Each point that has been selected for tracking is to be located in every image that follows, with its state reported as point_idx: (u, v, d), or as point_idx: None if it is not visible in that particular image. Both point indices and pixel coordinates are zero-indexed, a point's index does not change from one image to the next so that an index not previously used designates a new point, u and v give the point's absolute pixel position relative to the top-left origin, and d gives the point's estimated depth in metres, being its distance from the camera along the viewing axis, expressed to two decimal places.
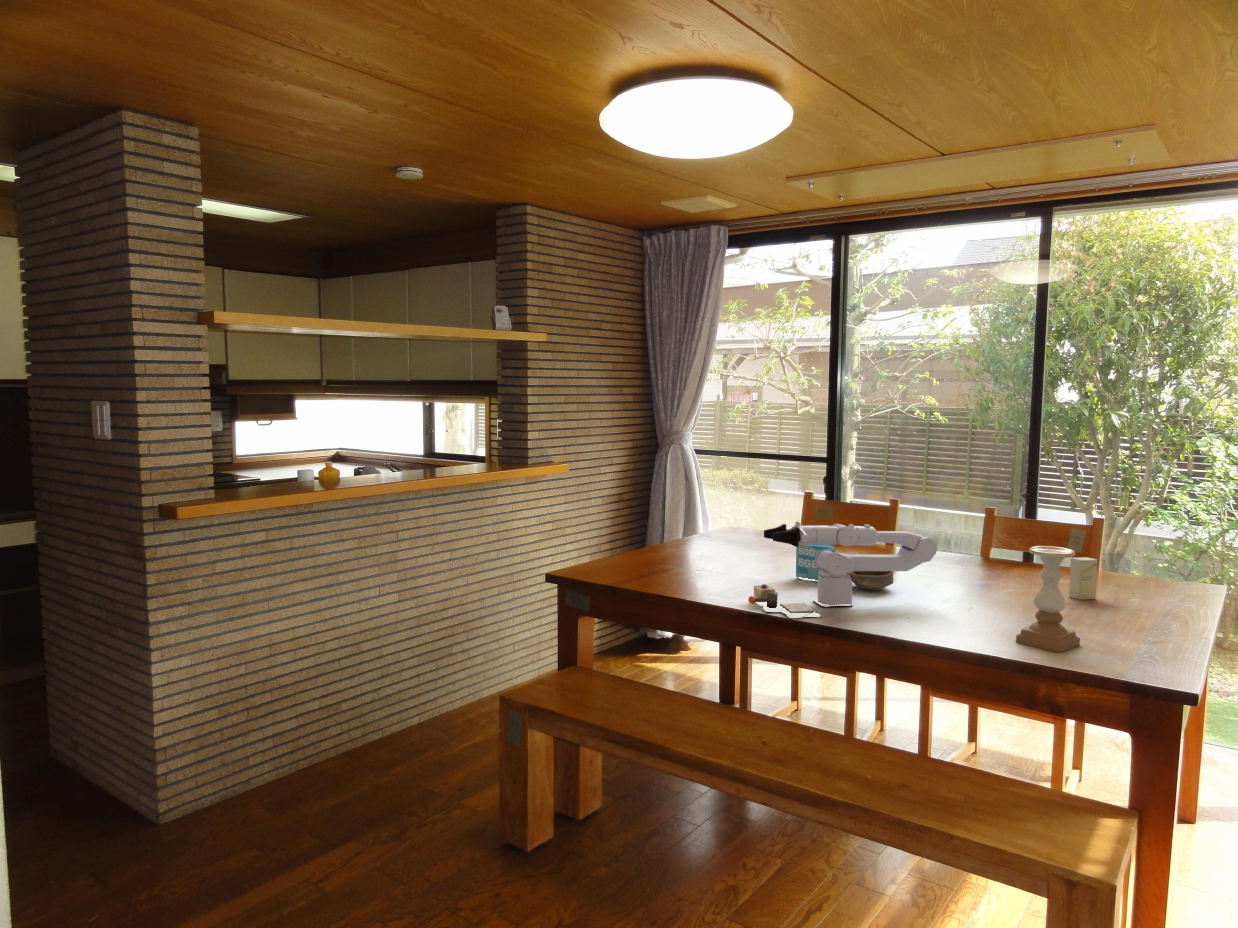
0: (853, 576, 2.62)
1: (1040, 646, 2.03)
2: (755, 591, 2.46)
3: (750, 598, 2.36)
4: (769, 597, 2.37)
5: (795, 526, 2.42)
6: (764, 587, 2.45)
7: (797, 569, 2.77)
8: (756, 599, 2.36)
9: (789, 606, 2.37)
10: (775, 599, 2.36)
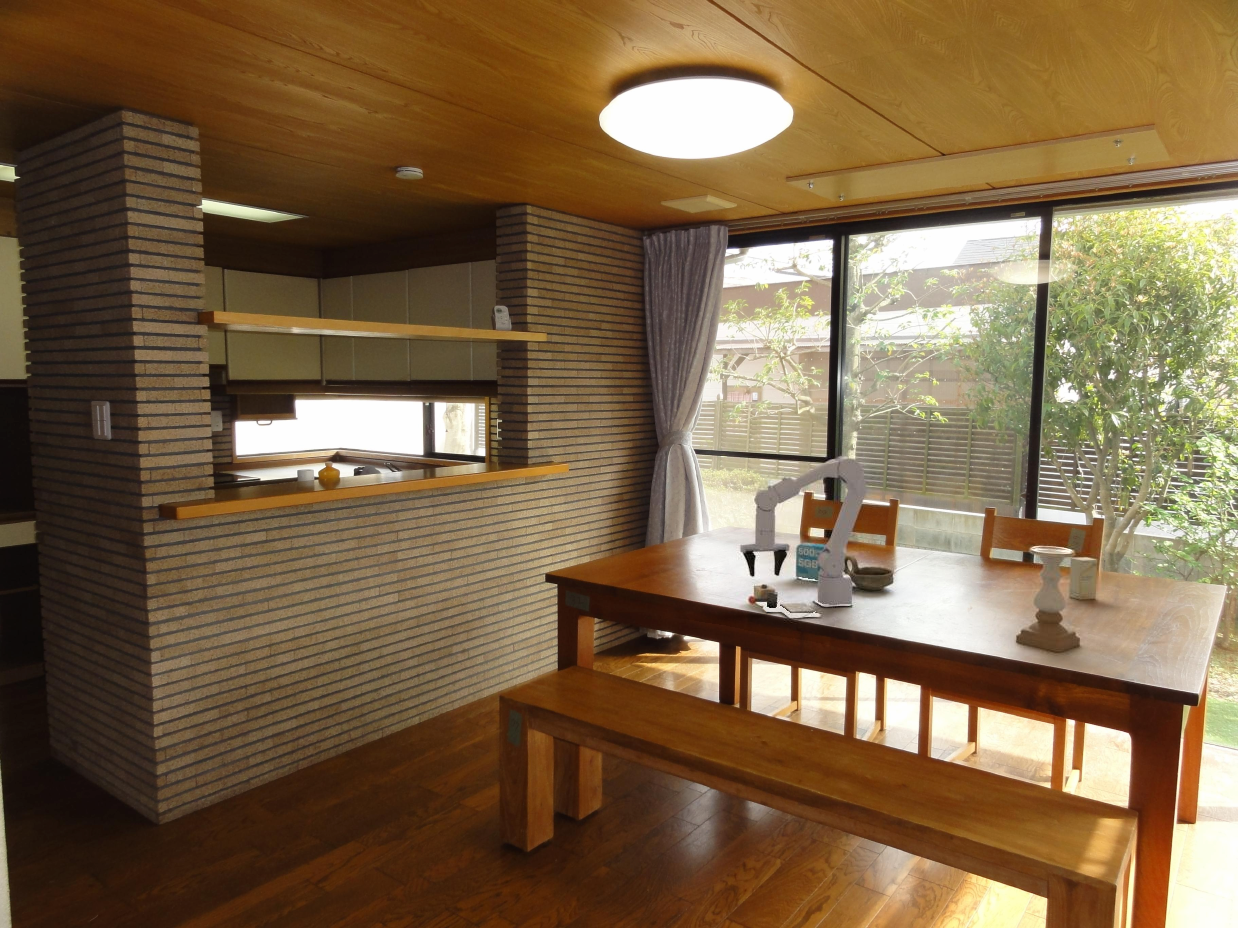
0: (853, 576, 2.62)
1: (1040, 646, 2.03)
2: (755, 591, 2.46)
3: (750, 598, 2.36)
4: (769, 597, 2.37)
5: None
6: (764, 587, 2.45)
7: (797, 569, 2.77)
8: (756, 599, 2.36)
9: (789, 606, 2.37)
10: (775, 599, 2.36)
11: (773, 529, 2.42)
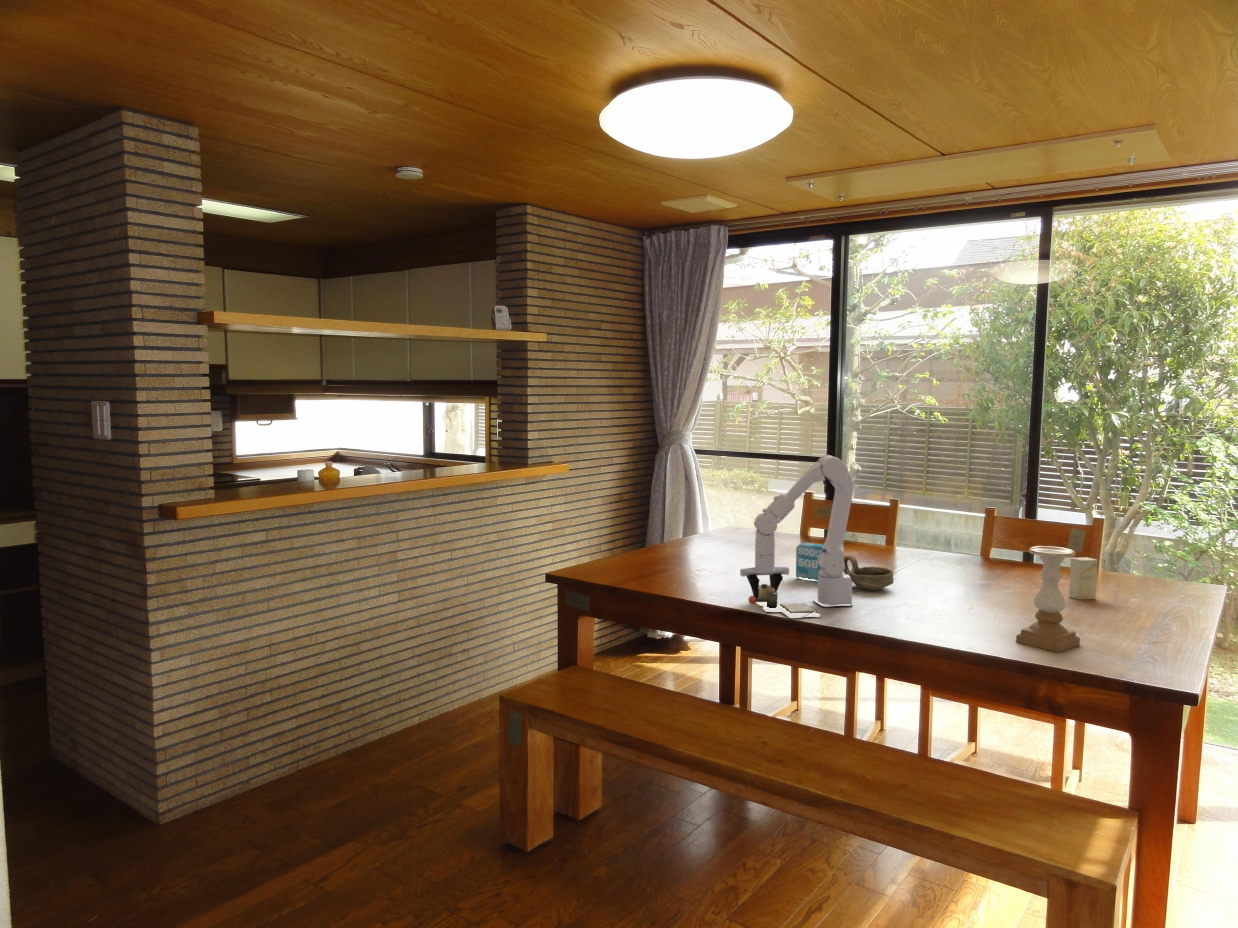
0: (853, 576, 2.62)
1: (1040, 646, 2.03)
2: None
3: (750, 598, 2.36)
4: (769, 597, 2.37)
5: None
6: (764, 587, 2.45)
7: (797, 569, 2.77)
8: (756, 599, 2.36)
9: (789, 606, 2.37)
10: (775, 599, 2.36)
11: (773, 553, 2.43)
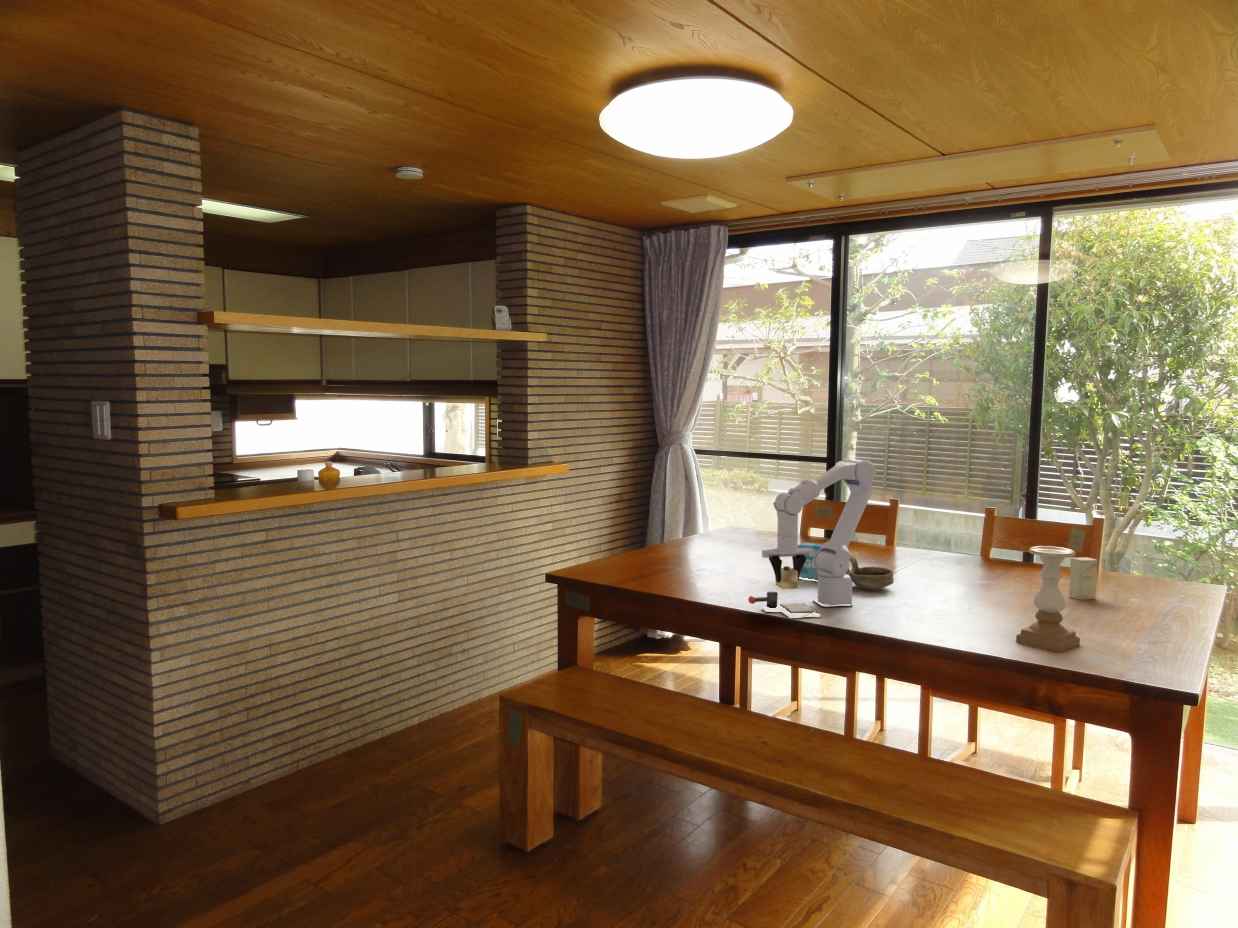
0: (853, 576, 2.62)
1: (1040, 646, 2.03)
2: None
3: (750, 598, 2.36)
4: (769, 597, 2.37)
5: None
6: (786, 569, 2.38)
7: None
8: (756, 599, 2.36)
9: (789, 606, 2.37)
10: (775, 599, 2.36)
11: (797, 533, 2.37)
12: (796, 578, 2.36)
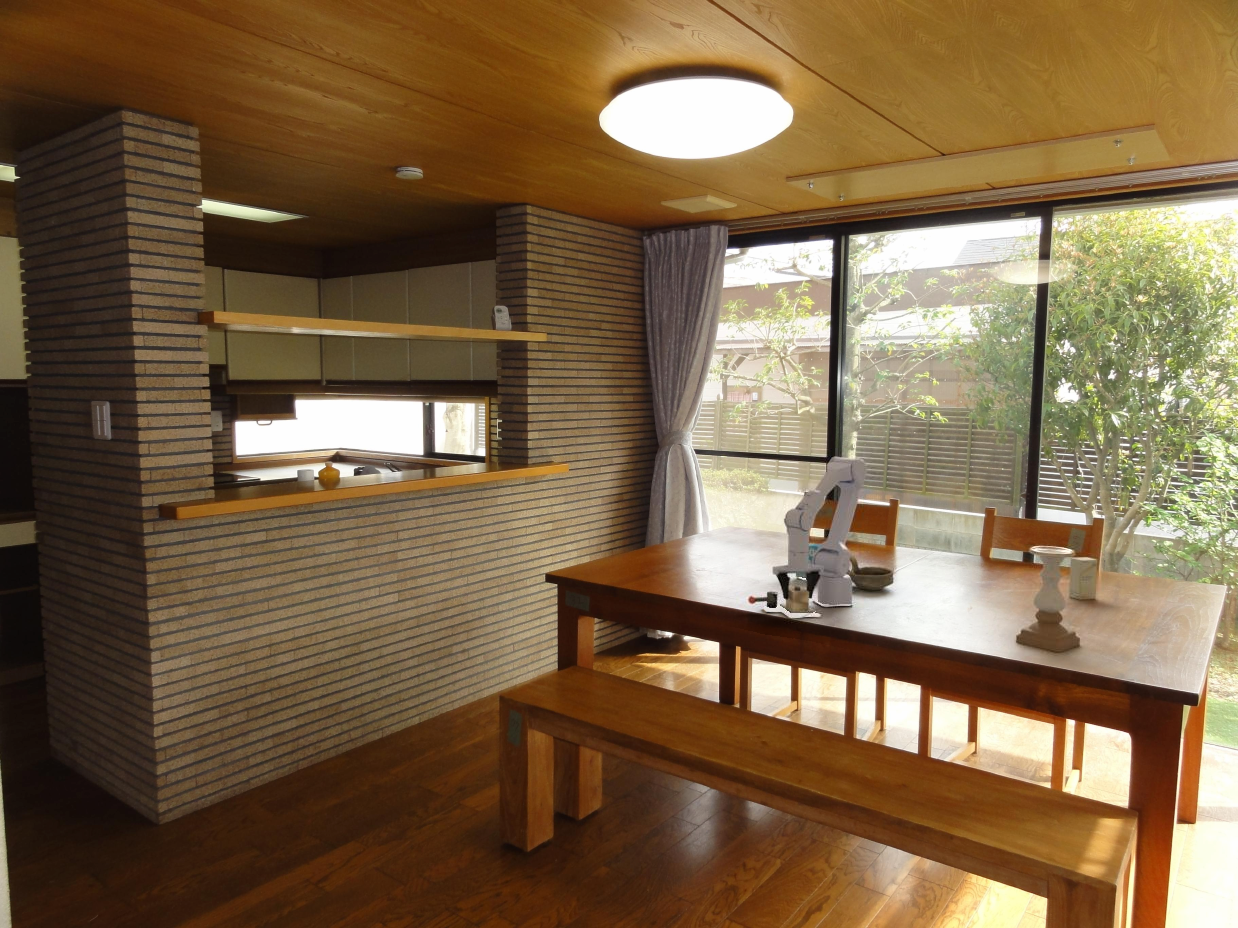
0: (853, 576, 2.62)
1: (1040, 646, 2.03)
2: None
3: (750, 598, 2.36)
4: (769, 597, 2.37)
5: None
6: (797, 589, 2.35)
7: None
8: (756, 599, 2.36)
9: None
10: (775, 599, 2.36)
11: None
12: (807, 599, 2.34)
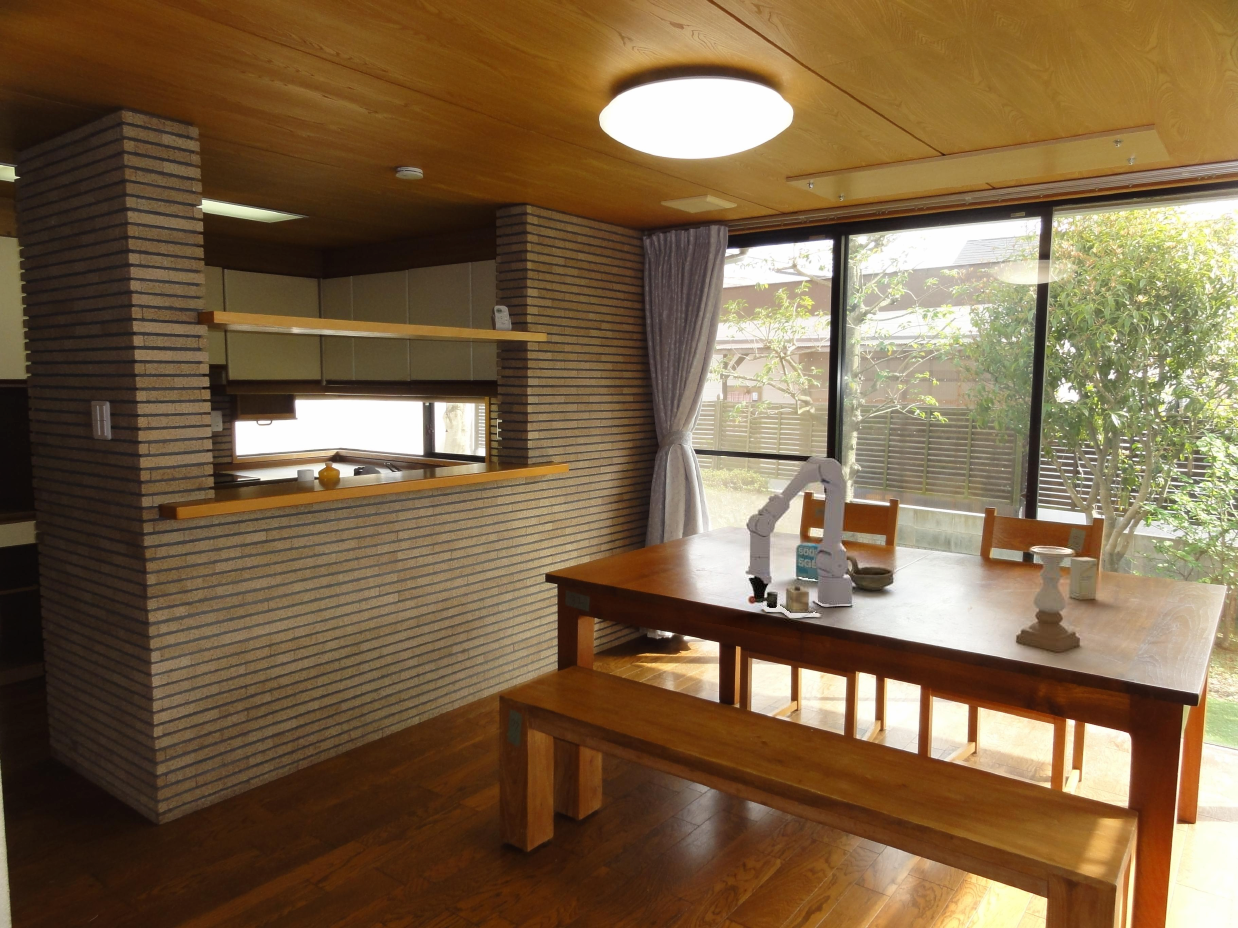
0: (853, 576, 2.62)
1: (1040, 646, 2.03)
2: (788, 593, 2.37)
3: (750, 598, 2.36)
4: (769, 597, 2.37)
5: None
6: (797, 589, 2.35)
7: (797, 569, 2.77)
8: (756, 599, 2.36)
9: None
10: (775, 599, 2.36)
11: (769, 554, 2.36)
12: (807, 599, 2.34)
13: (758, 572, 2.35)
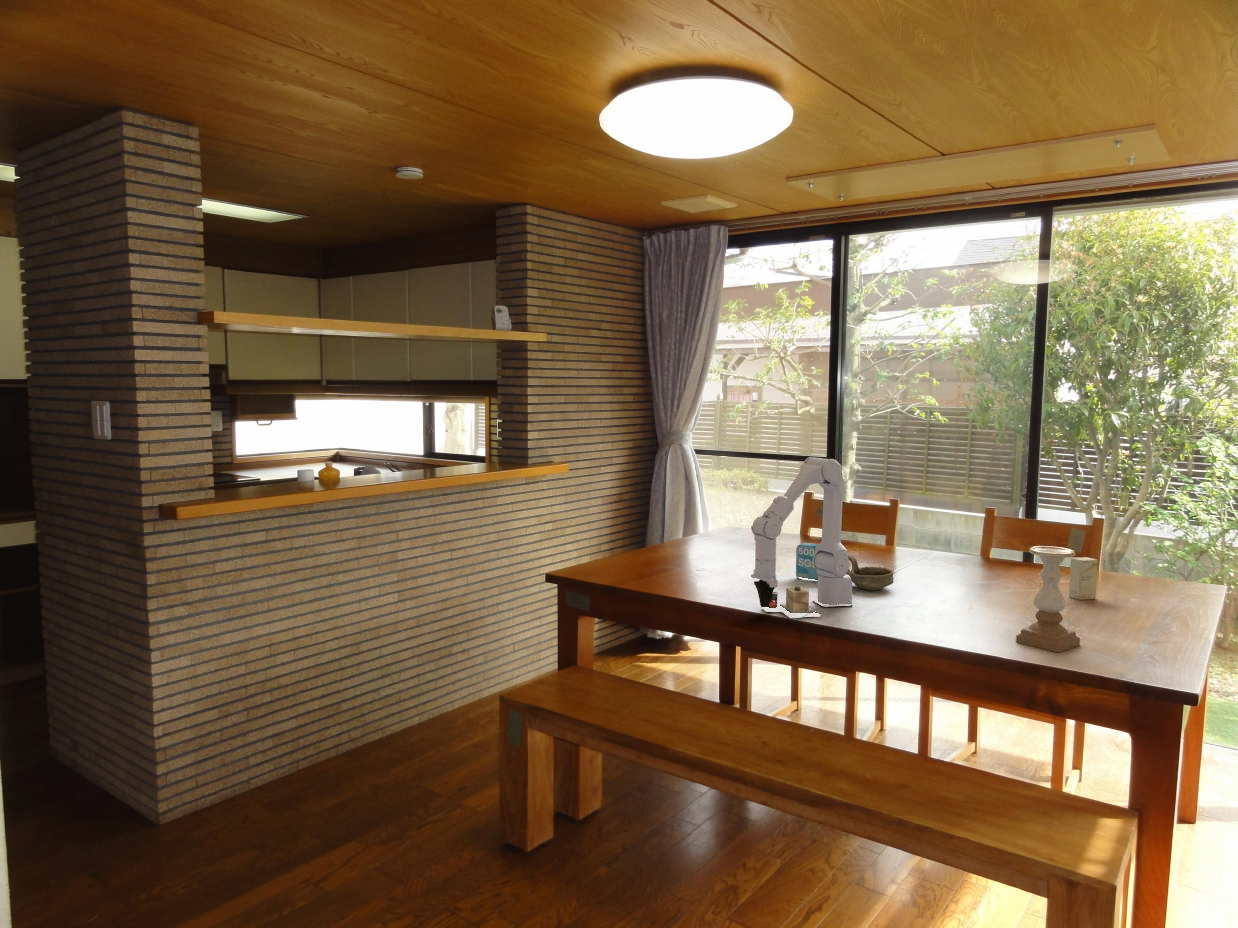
0: (853, 576, 2.62)
1: (1040, 646, 2.03)
2: (788, 593, 2.37)
3: (774, 603, 2.31)
4: (775, 597, 2.36)
5: None
6: (797, 589, 2.35)
7: (797, 569, 2.77)
8: None
9: None
10: None
11: (775, 557, 2.32)
12: (807, 599, 2.34)
13: (764, 576, 2.30)
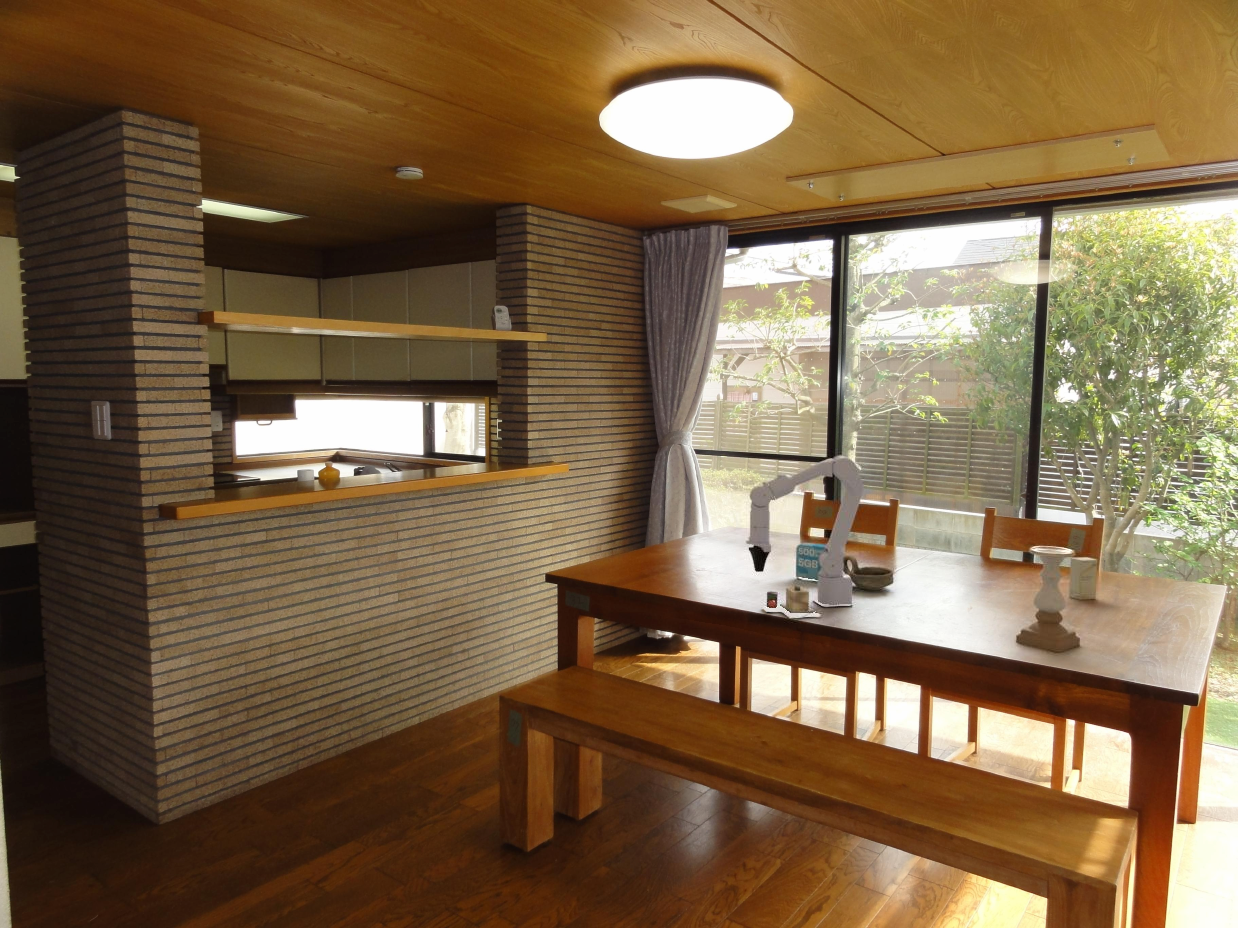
0: (853, 576, 2.62)
1: (1040, 646, 2.03)
2: (788, 593, 2.37)
3: (774, 603, 2.31)
4: (775, 597, 2.36)
5: None
6: (797, 589, 2.35)
7: (797, 569, 2.77)
8: None
9: None
10: None
11: (767, 525, 2.44)
12: (807, 599, 2.34)
13: (758, 541, 2.43)
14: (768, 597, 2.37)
